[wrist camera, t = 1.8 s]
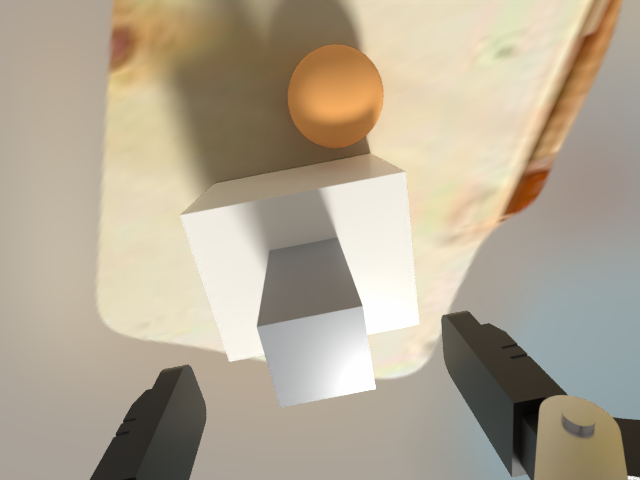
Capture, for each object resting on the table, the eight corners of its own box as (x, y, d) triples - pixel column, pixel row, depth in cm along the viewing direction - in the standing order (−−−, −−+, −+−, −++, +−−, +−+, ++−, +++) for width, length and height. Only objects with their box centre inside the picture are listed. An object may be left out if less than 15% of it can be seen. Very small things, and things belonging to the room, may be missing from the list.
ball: (280, 61, 20) (276, 46, 15) (366, 45, 20) (389, 24, 15) (297, 150, 21) (298, 161, 17) (376, 135, 21) (400, 142, 17)
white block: (214, 183, 22) (111, 277, 9) (370, 153, 22) (473, 206, 9) (246, 293, 24) (199, 477, 12) (384, 266, 25) (477, 421, 12)
